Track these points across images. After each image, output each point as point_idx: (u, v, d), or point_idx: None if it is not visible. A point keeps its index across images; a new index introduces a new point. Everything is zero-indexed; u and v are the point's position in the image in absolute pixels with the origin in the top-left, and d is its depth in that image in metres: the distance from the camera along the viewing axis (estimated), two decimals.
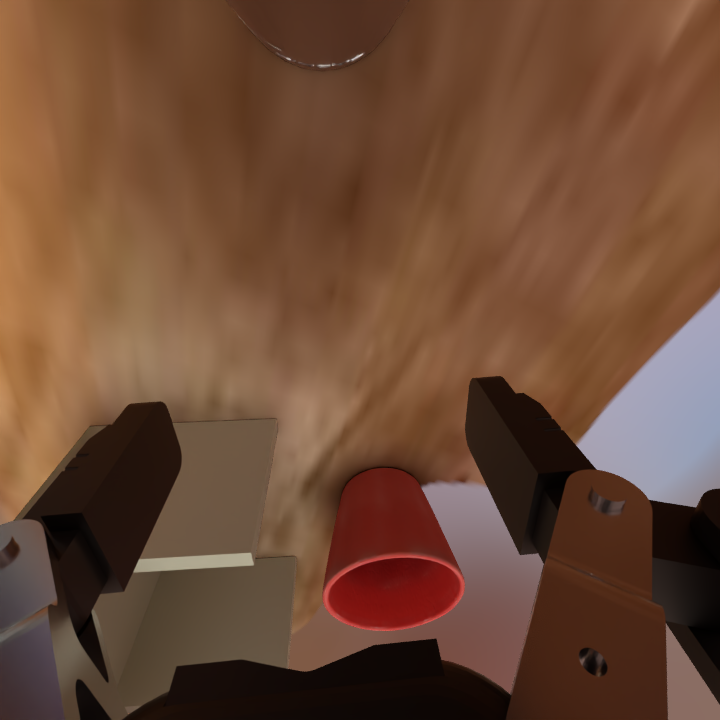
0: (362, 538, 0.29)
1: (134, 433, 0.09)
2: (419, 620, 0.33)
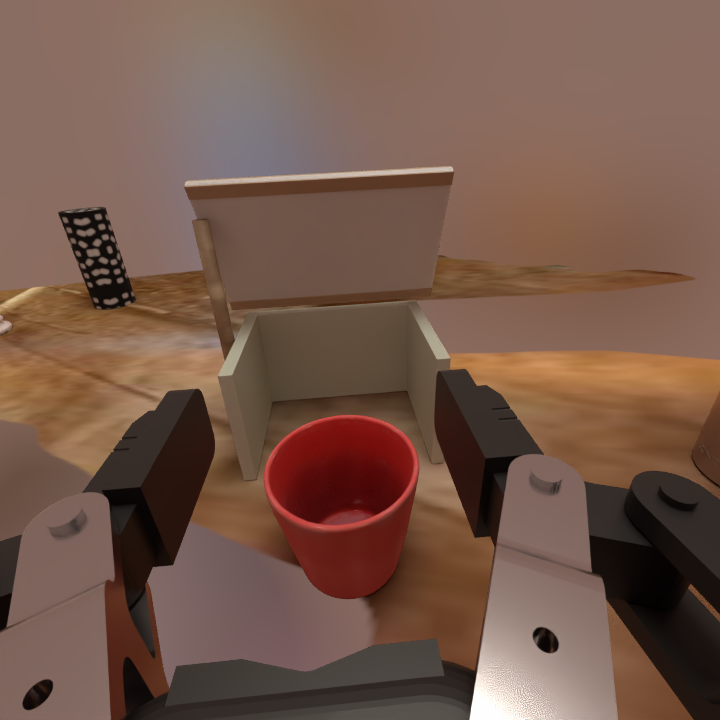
0: None
1: (178, 417, 0.09)
2: (274, 495, 0.25)
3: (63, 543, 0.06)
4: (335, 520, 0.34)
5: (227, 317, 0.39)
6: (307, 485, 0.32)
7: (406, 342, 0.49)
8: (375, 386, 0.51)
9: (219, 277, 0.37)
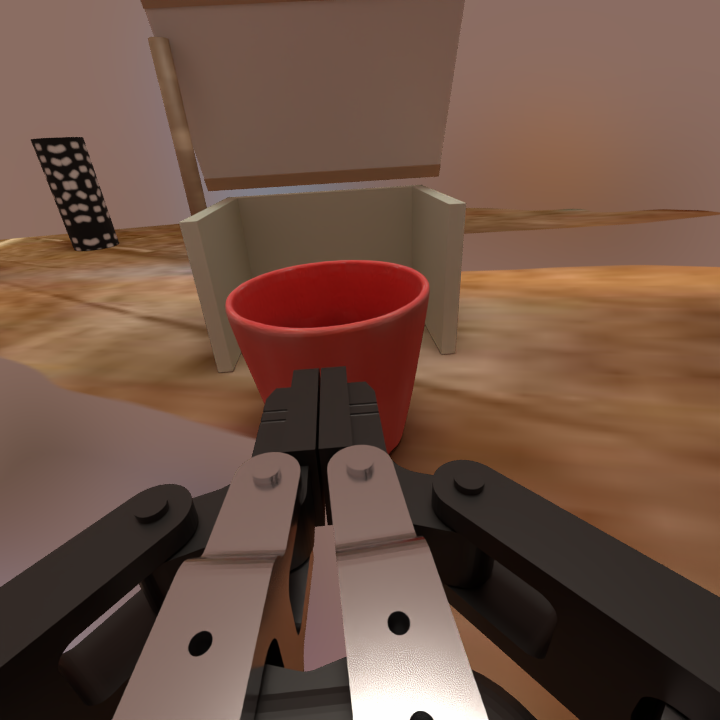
0: None
1: (317, 391, 0.10)
2: None
3: (275, 493, 0.07)
4: None
5: (197, 178, 0.33)
6: None
7: (410, 236, 0.42)
8: None
9: (185, 121, 0.31)
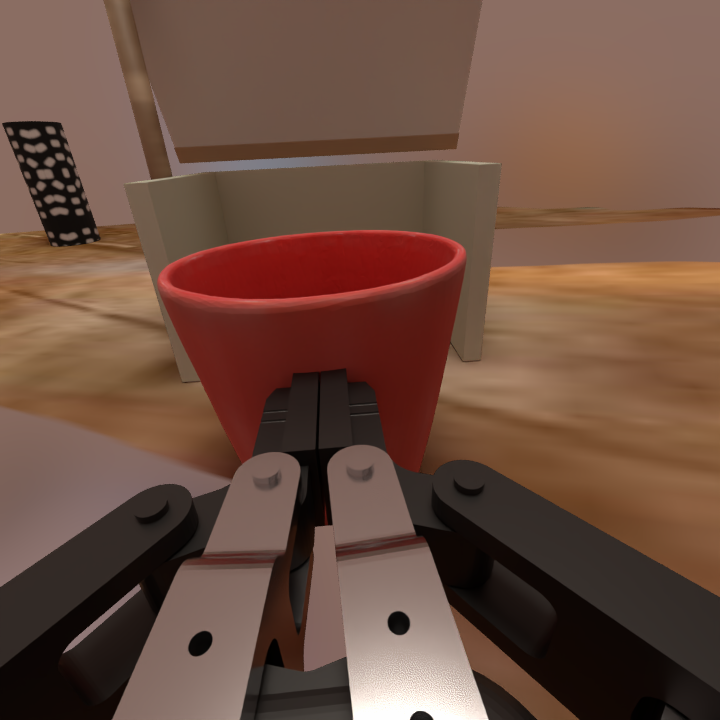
0: None
1: (316, 392, 0.10)
2: None
3: (275, 493, 0.07)
4: None
5: (159, 138, 0.26)
6: None
7: (421, 221, 0.36)
8: None
9: (142, 63, 0.24)
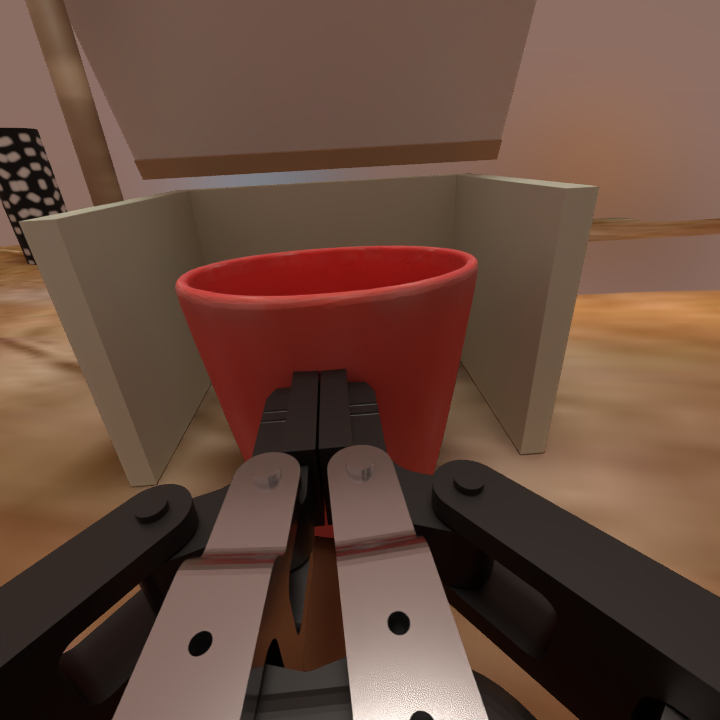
0: None
1: (316, 392, 0.10)
2: (189, 286, 0.13)
3: (276, 493, 0.07)
4: None
5: (101, 150, 0.19)
6: None
7: None
8: None
9: (70, 44, 0.17)
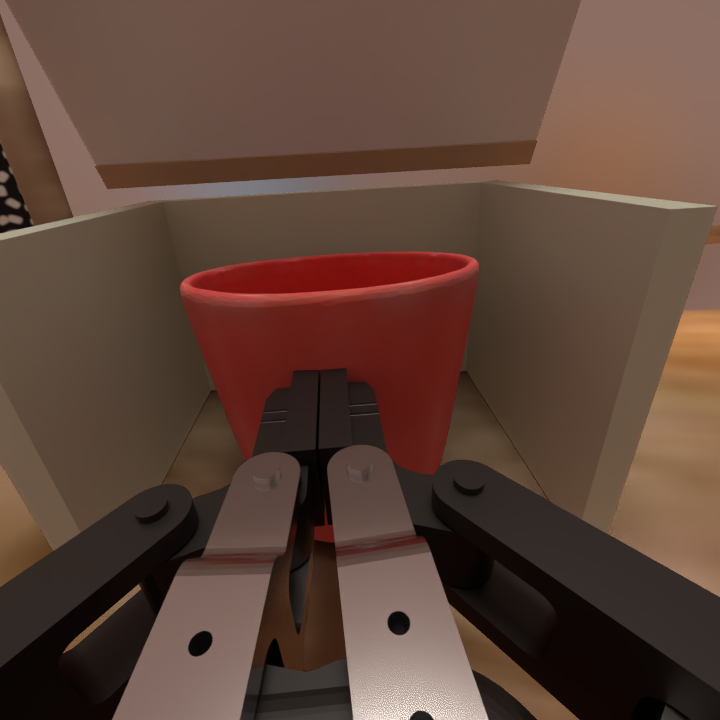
0: None
1: (317, 392, 0.10)
2: None
3: (276, 493, 0.07)
4: None
5: (39, 154, 0.15)
6: None
7: None
8: None
9: None
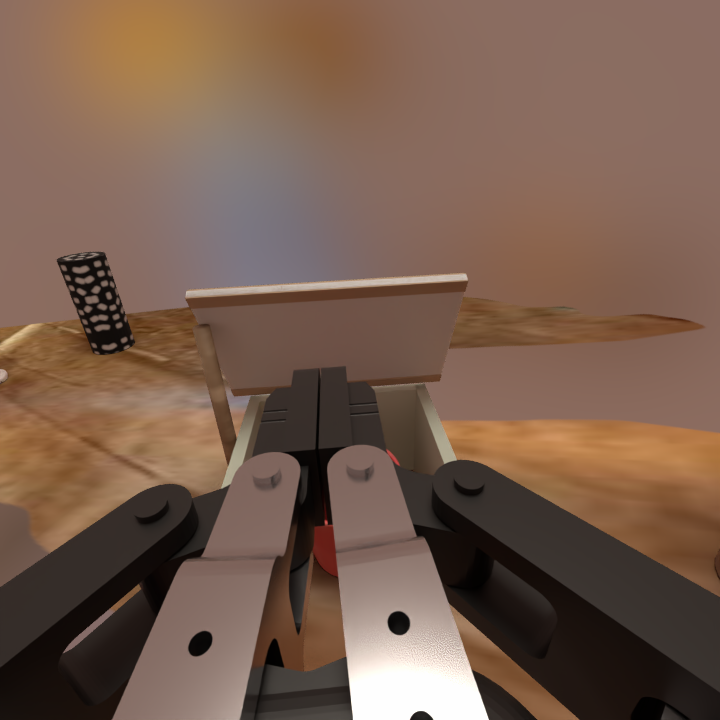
0: None
1: (316, 392, 0.10)
2: None
3: (275, 493, 0.07)
4: None
5: (228, 418, 0.37)
6: None
7: (414, 424, 0.47)
8: None
9: (220, 380, 0.36)
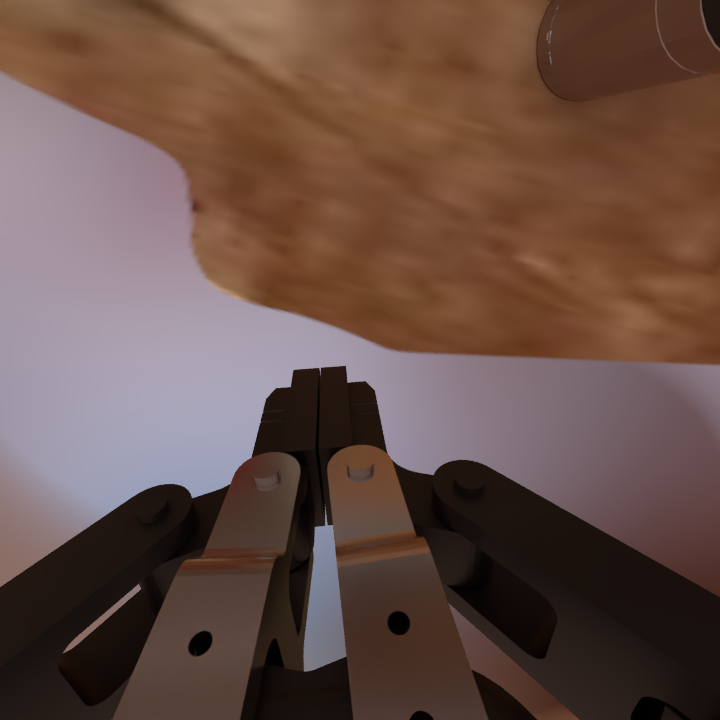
0: None
1: (316, 392, 0.10)
2: None
3: (275, 493, 0.07)
4: None
5: None
6: None
7: None
8: None
9: None
